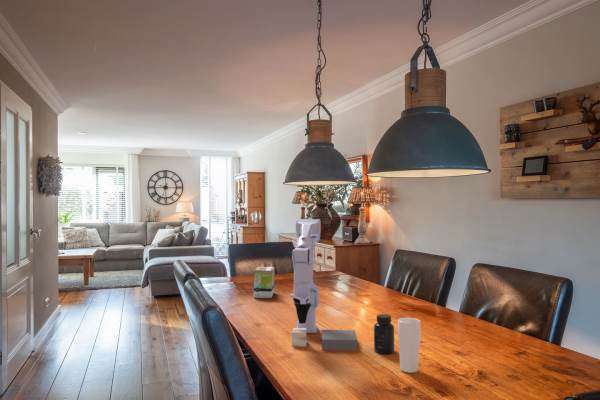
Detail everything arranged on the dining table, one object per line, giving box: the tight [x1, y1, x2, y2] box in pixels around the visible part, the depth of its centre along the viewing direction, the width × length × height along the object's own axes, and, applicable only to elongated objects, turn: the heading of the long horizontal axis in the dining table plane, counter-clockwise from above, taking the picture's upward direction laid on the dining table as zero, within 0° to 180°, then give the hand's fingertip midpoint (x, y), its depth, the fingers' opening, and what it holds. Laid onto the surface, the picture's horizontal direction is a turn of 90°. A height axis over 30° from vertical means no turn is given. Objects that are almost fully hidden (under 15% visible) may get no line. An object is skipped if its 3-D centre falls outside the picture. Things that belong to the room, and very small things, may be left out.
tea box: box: [253, 266, 276, 299], centre depth 242 cm, size 15×10×15 cm, turn 179°
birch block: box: [291, 327, 308, 348], centre depth 158 cm, size 5×5×5 cm
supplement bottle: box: [373, 313, 395, 355], centre depth 151 cm, size 7×7×12 cm
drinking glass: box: [397, 317, 422, 374], centre depth 134 cm, size 7×7×15 cm
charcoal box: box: [321, 329, 358, 352], centre depth 157 cm, size 12×12×4 cm
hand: (301, 320), depth 157 cm, fingers open, 7 cm apart
